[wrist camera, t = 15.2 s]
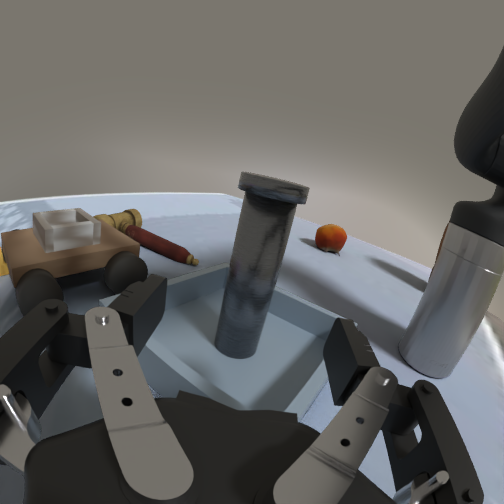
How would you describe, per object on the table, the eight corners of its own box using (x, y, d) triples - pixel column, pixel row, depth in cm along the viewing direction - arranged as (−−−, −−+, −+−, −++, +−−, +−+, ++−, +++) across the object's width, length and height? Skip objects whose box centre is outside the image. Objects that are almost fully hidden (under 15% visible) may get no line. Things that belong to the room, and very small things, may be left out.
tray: (220, 289, 37) (225, 262, 36) (344, 352, 28) (357, 323, 27) (101, 335, 22) (99, 299, 21) (262, 469, 14) (280, 441, 12)
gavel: (216, 243, 46) (183, 257, 37) (210, 267, 47) (177, 286, 38) (128, 206, 51) (90, 212, 42) (125, 227, 52) (88, 236, 43)
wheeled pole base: (94, 249, 39) (96, 199, 36) (146, 292, 32) (151, 228, 29) (3, 267, 25) (-1, 209, 23) (25, 329, 18) (11, 250, 16)
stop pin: (230, 323, 28) (264, 175, 23) (272, 346, 26) (319, 190, 21) (196, 341, 24) (227, 169, 19) (241, 372, 21) (291, 185, 17)
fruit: (326, 250, 63) (326, 218, 65) (309, 256, 70) (310, 226, 72) (353, 255, 65) (352, 224, 67) (335, 259, 73) (335, 231, 74)
